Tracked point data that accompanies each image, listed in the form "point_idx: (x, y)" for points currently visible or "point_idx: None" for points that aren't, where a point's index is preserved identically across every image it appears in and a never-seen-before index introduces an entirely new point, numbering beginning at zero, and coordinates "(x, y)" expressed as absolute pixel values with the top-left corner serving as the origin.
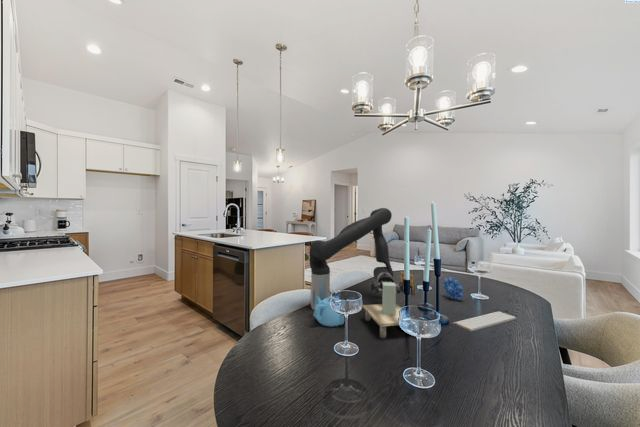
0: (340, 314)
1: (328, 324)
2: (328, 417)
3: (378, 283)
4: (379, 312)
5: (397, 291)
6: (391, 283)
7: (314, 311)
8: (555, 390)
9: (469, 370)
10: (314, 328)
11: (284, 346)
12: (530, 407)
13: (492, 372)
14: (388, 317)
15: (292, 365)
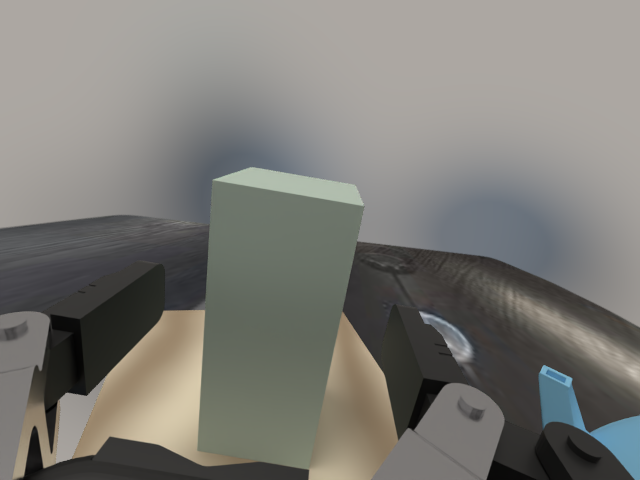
0: (582, 426)
1: None
2: (395, 247)
3: (458, 461)
4: (337, 415)
5: (164, 284)
6: (264, 181)
7: None
8: (41, 225)
9: (145, 259)
10: None
11: (591, 349)
12: (139, 223)
13: (98, 252)
14: None
15: (502, 300)
